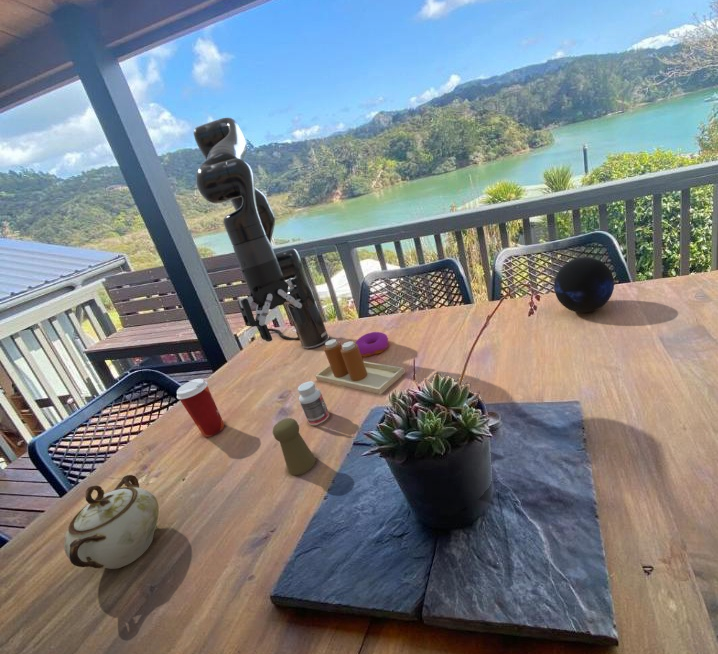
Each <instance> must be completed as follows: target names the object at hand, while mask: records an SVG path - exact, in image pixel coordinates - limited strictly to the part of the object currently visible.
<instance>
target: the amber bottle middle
mask: <svg viewBox="0 0 718 654" xmlns="http://www.w3.org/2000/svg"><path fill="white" fill-rule="evenodd" d="M341 346H342V349H341V354H342V356H343V359H344V362H345V365H346V367H347V370H348V373H349V376H350V378H351V380H352V381H359V380H362V379H364V378H365V377H366V376H367V371H366V368H365V365H364V362H363V361H364V360H363V357H362V356H361V353H360V350H359V347H358V345H357V344H356V343H355V342H354V341H353V340H352V341H346V342H344V343H343V344H341Z"/></svg>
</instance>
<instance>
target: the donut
mask: <svg viewBox="0 0 718 654" xmlns="http://www.w3.org/2000/svg"><path fill="white" fill-rule="evenodd" d="M388 342H389V338H388V335H387V334H386V333H384V332H381V331H372V332H368V333H365V334H363V335H361V336H360V337H359V338H358V339H357V340H356V341H355V344H357V345H358V347H359V350H360V353H361V356H362V358H366V357H370V356H374V355H378V354H381V353H383V352H385V351H386V350H387V348H388V344H389V343H388Z"/></svg>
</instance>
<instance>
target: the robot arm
mask: <svg viewBox="0 0 718 654" xmlns="http://www.w3.org/2000/svg"><path fill="white" fill-rule="evenodd" d="M193 137H194V140H195V143H196V145H197V147H198V149H199V151H200V152H201V154H202V156H203V158H204V159H205V161H204V162H203V163H202V164H200V166H199V167H198V169H197V170H196V174H195V183H196V188H197V190H198V192H199V193H200V195H201V197H203V198H204V199H205V200H206V201H207V202H209V203H212V204H221V203H225V202H228V201H230V203H231V204H232V206H233V208H234V211H232V212H230V213H229V214H226V215H225V217H224V218H223V226H224V229H225V231H226V233H227V236H228V238H229V240H230V243H231V246H232V249H233V252H234V255H235V258H236V261H237V264H238V266H239V269H240V271H241V273H242V276H243V279H244V280H245V283H246V286H247V288H248V290H249V293H250V296H247V297H245V298H244V297H243V298H238V300H237V304H238V308H239V310H240V313H241V316H242V319H243V321H244V324H245V326H246V327H252V328H254V327H256V328H257V330H258V333H259V335H260V338H261V339H262V340H263V341H265V342H269V343H270V342H271V341H273V337H272V335H271V332H273V333H274V332H275V333H277V334H278V336H279V338H282V339H284V340H289V341H298V340H299V341H300V344H301V346H302V347H303V348H304V349H308V350H309V349H315V348H318V347H320V346H323V345H325V343H326V342H327V341H329V340H330V335H329V334H328V332H327V329H326V325H325V323H324V320H323V317H322V315H321V312H320V309H319V307H318V304H317V301H316V299H315V296H314V293H313V290H312V287H311V286H310V283H309V279H308V276H307V274H306V270H305V267H304V264H303V261H302V258H301V256H300V254H299V252H298V250H297V249H296V248H288V249H285V250H281V251H278V252H276V251H274V248H273V246H272V239H273V234H274V230H275V225H276V215H275V213H274V210H273V208H272V206H271V205H270V202H269V200H268V198H267V197H266V195H265V194H264V193H263V192H262V191H261V190H259V189H258V188H256V187H255V185H256V184H255V177H254V173H253V170H252V168H251V166H250V164H248V162H246V161H245V160H244V158H245V156H246V154H247V151H248V145H247V141H246V138H245V135H244V132H243V131H242V128H241V127H240V124H238V122H237V121H236V120H235V119H234V118H231V117H222V118H219V119H216V120H213V121H210V122H207V123H204V124H201V125H199V126H197V127H195V128H193ZM253 303H254V304H256V308H255V316H254V313H253V311H252V306H253ZM282 305H286V306H287V309H288V311H289V313H290V316H291V318H292V324H293V326H294V329H295V333H296V337H290V336H286V335H284V334H282V331H280V330H279V329H277V328H276V329H275V328H269V326H268V325H267V324H266V319H267V316H268V315H269V311H270V310H272V311H273V310H274V309H276V308H277V307H279V306H282Z"/></svg>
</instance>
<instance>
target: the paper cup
mask: <svg viewBox="0 0 718 654" xmlns="http://www.w3.org/2000/svg"><path fill="white" fill-rule="evenodd" d="M208 385H209V382H207V381H205V379H203V378H195V379H192V380H190V381H188V382H186V383H183V384H182V385H181V386H179V387H178V388H177V390H176V399H177V400H179V401H180V403H181V404H182V405H183V407H184V409H185V410H186V412H187V413H188V415H189V416H190V418H191V419H192V421H193V422H194V424H195V426H196V427H197V428H198V430H199V431H200V433H201V434H202V436H203V437H205V438H209V437H212V436H215V435H217V434H218V433H220V432H221V431H222V430H223V429H224V428H225V423H224V421H223V418H222V416H221V413H220V411H219V409H218V406H217V404H216V402H215V400H214V397H213V396H212V393H211V391H210V389H209V386H208Z"/></svg>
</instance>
